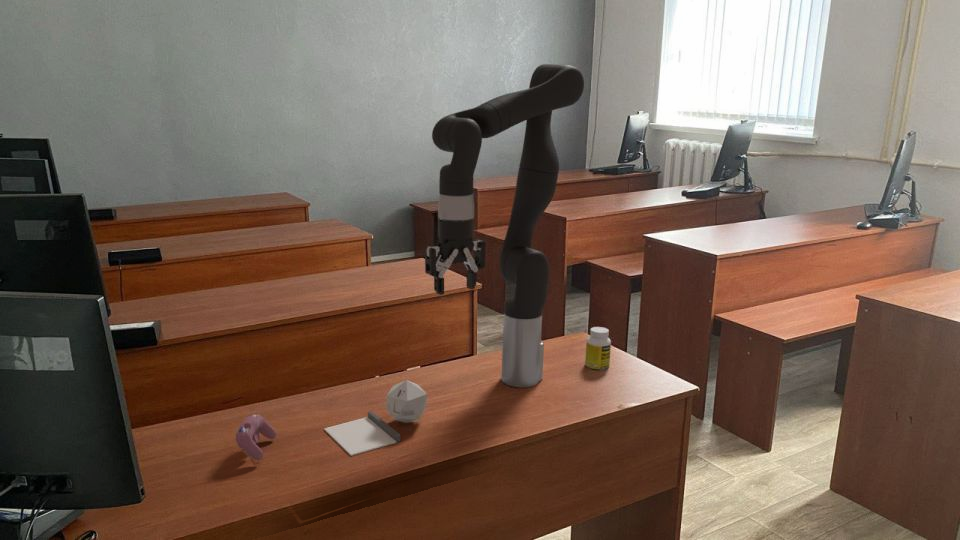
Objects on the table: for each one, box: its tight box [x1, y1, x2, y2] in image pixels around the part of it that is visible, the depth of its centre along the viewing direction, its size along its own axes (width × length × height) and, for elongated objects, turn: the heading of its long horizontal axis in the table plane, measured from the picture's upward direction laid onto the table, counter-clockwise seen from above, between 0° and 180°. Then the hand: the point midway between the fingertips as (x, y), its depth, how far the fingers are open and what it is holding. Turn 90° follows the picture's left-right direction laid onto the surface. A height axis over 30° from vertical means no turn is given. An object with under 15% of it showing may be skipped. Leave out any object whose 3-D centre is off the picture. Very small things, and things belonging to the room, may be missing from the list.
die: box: [385, 379, 428, 424], centre depth 153 cm, size 8×9×10 cm
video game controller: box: [235, 413, 277, 461], centre depth 141 cm, size 10×5×7 cm, turn 178°
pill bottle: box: [584, 326, 612, 371], centre depth 184 cm, size 6×6×11 cm
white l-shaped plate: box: [323, 410, 401, 457], centre depth 148 cm, size 11×13×2 cm
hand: (455, 291), depth 154 cm, fingers open, 7 cm apart
